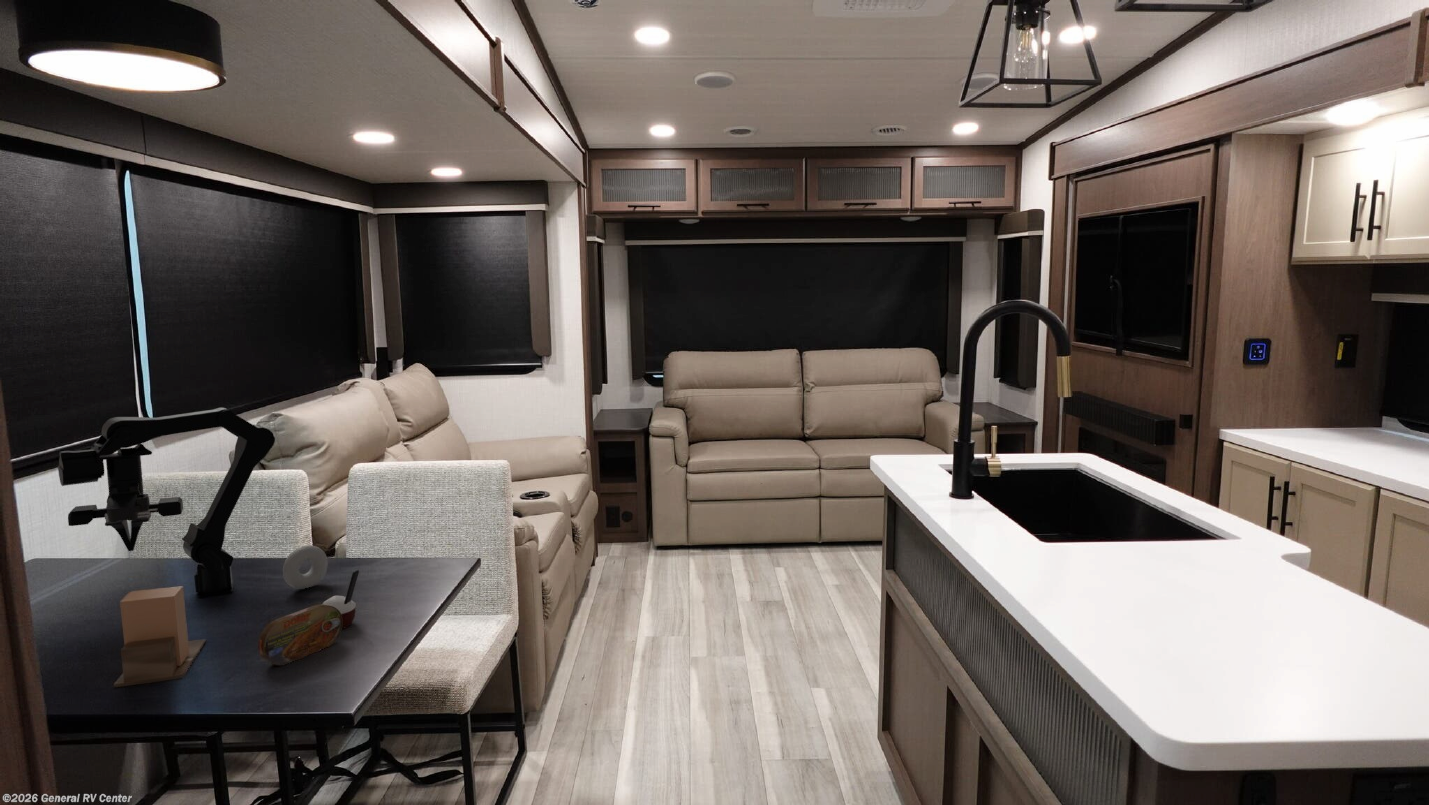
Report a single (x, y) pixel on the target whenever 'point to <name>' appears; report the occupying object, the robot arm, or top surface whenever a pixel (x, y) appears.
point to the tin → (300, 634)
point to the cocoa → (345, 602)
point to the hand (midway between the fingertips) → (131, 550)
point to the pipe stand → (154, 661)
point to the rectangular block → (156, 617)
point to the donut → (294, 563)
